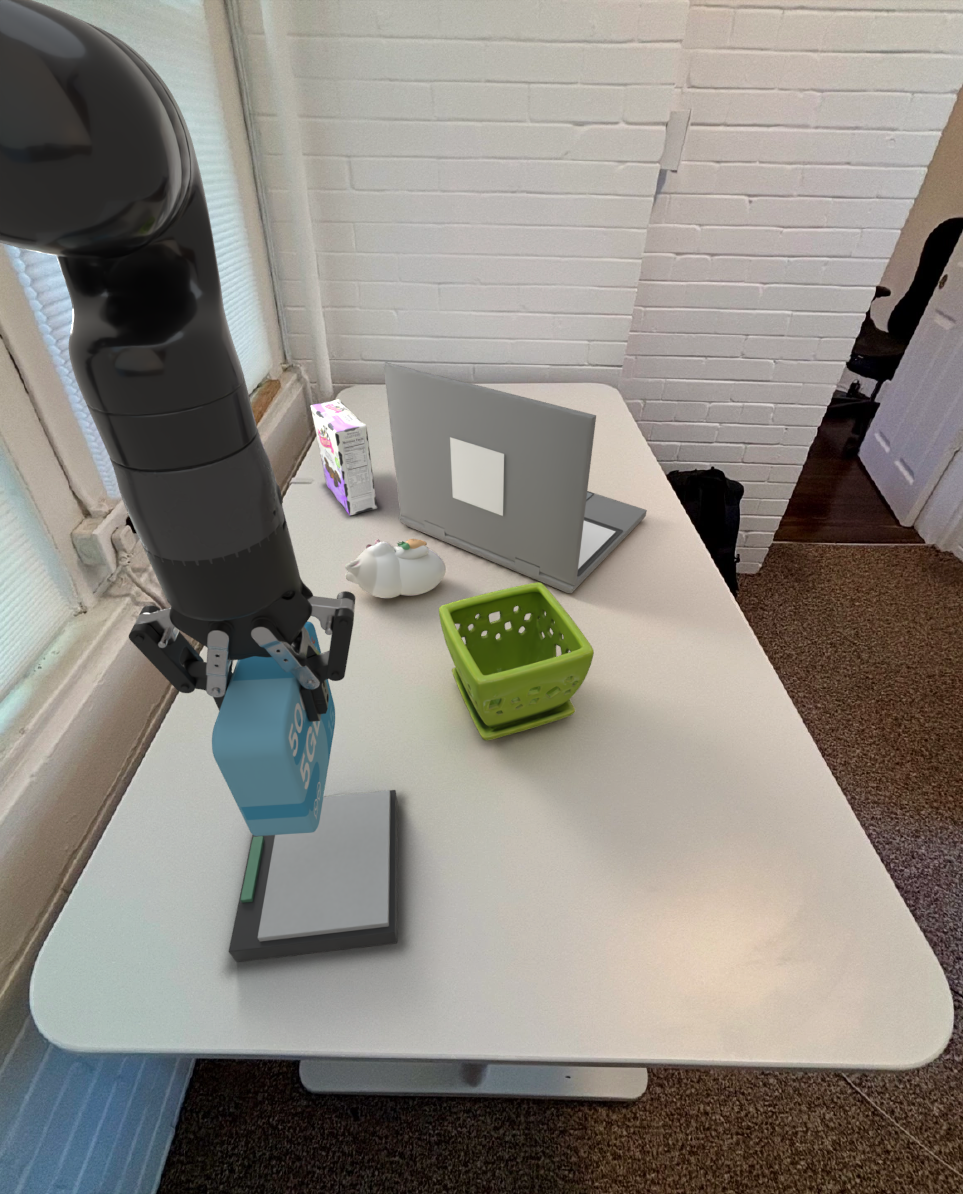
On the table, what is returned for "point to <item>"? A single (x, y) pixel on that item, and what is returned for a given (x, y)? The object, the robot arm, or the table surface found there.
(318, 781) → the blue rounded block
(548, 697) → the flower pot
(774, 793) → the table surface
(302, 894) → the scale
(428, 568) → the cat figurine
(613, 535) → the laptop
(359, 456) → the candy box
